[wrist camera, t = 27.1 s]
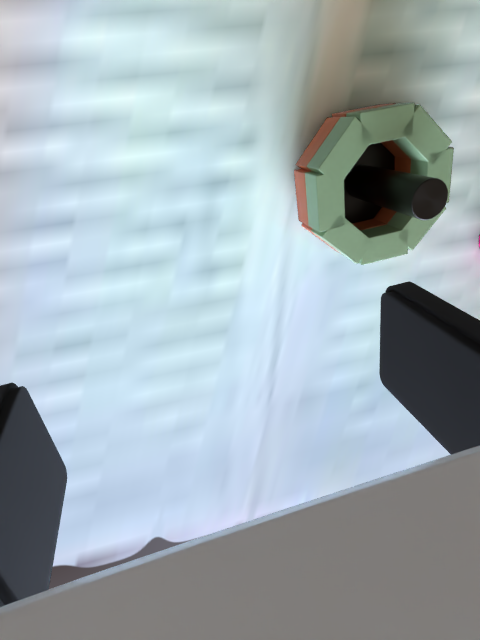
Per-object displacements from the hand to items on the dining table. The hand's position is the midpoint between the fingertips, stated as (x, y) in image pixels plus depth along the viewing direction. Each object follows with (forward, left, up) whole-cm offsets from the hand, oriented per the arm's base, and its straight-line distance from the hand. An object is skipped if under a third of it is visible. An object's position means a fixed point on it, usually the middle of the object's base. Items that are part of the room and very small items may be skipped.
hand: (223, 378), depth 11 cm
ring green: (+19, -2, -25) cm, 31 cm away
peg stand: (+19, -2, -28) cm, 34 cm away
